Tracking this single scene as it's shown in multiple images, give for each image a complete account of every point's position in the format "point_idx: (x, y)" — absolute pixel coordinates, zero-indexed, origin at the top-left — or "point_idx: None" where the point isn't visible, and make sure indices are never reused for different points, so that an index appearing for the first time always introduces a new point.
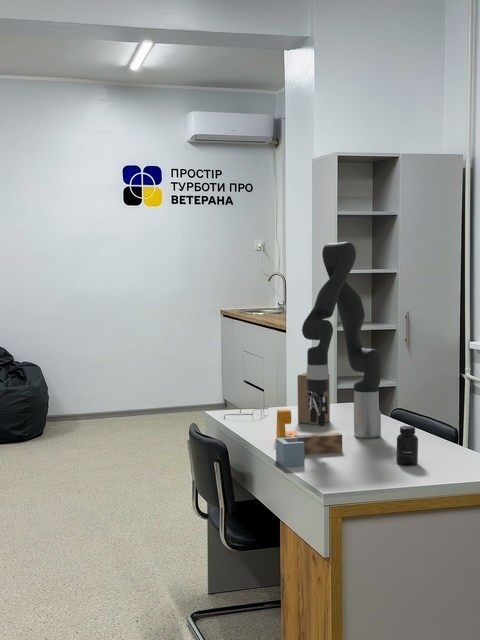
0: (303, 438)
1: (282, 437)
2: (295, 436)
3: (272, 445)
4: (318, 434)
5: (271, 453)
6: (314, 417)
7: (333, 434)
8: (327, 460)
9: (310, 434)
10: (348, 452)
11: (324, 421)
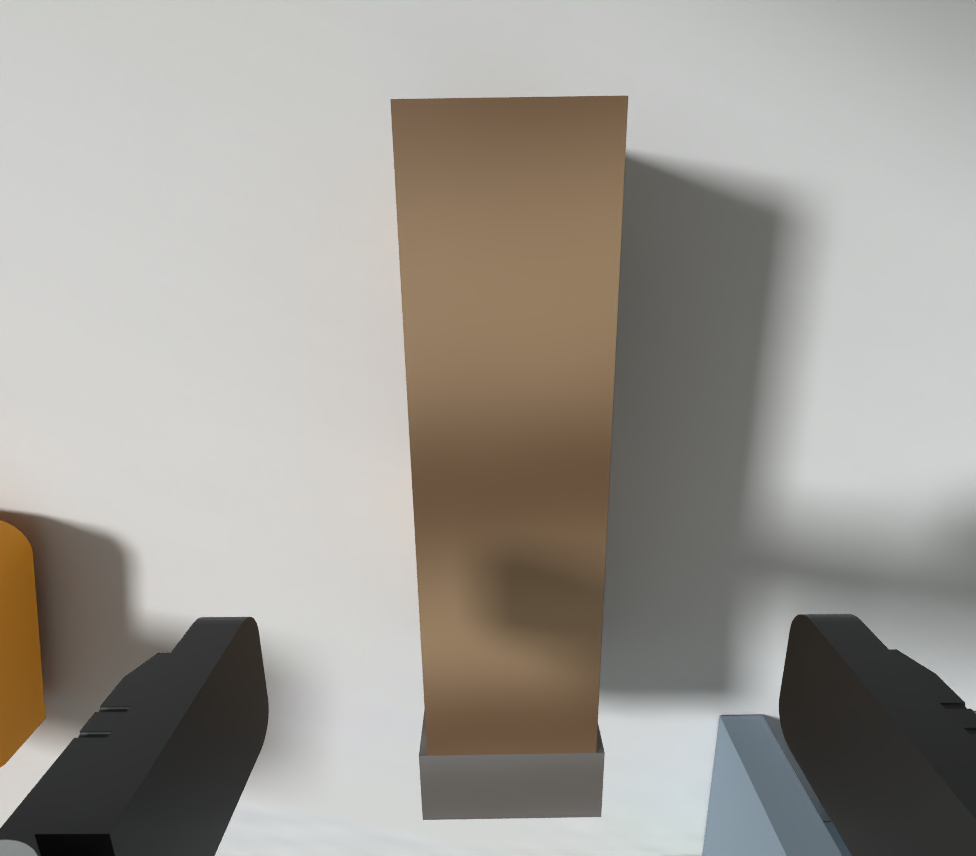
0: (600, 746)
1: (2, 740)
2: (472, 813)
3: None
4: (460, 510)
5: (423, 839)
6: (219, 736)
7: (541, 262)
8: (904, 462)
9: (425, 621)
10: (634, 64)
11: (913, 686)
